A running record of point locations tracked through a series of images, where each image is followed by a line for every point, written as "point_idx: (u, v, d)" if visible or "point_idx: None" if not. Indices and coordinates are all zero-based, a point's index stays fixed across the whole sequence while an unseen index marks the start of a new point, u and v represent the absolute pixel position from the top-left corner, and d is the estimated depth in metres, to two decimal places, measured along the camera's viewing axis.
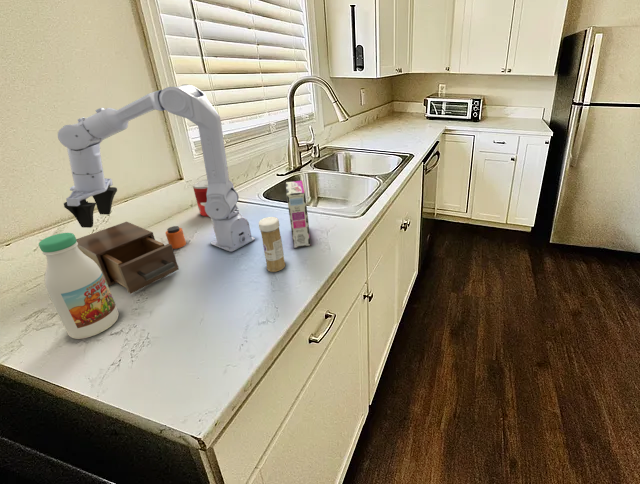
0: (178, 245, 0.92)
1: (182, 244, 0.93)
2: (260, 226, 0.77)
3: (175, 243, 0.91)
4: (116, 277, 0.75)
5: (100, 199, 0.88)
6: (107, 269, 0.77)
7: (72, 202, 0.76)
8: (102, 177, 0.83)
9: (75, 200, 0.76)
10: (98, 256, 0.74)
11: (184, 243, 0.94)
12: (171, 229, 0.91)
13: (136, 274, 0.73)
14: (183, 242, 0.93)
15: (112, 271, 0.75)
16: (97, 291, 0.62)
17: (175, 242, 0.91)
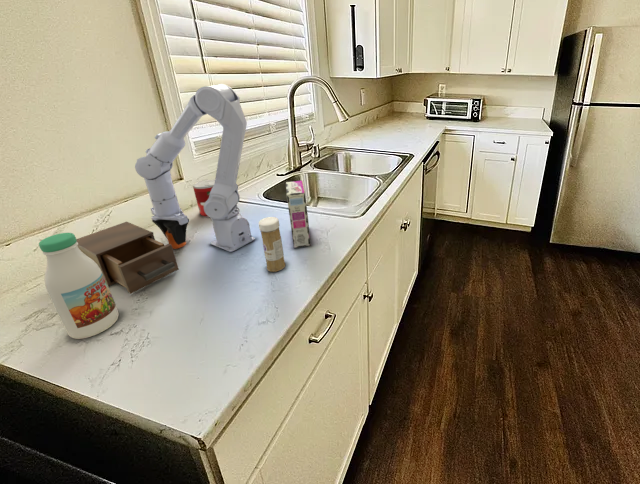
0: (178, 245, 0.92)
1: (183, 245, 0.93)
2: (260, 226, 0.77)
3: (175, 243, 0.91)
4: (116, 277, 0.75)
5: None
6: (107, 269, 0.77)
7: (184, 220, 0.87)
8: None
9: (186, 217, 0.87)
10: (98, 256, 0.74)
11: (184, 243, 0.94)
12: None
13: (136, 274, 0.73)
14: None
15: (112, 271, 0.75)
16: (97, 291, 0.62)
17: (175, 242, 0.91)
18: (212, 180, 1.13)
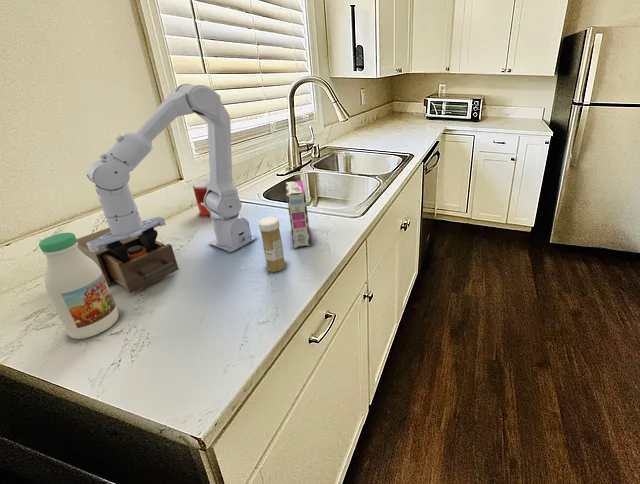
0: None
1: None
2: (260, 226, 0.77)
3: None
4: (116, 277, 0.75)
5: None
6: (107, 269, 0.77)
7: None
8: None
9: None
10: (98, 256, 0.74)
11: None
12: (137, 248, 0.77)
13: (136, 274, 0.73)
14: None
15: (112, 271, 0.75)
16: (97, 291, 0.62)
17: None
18: None
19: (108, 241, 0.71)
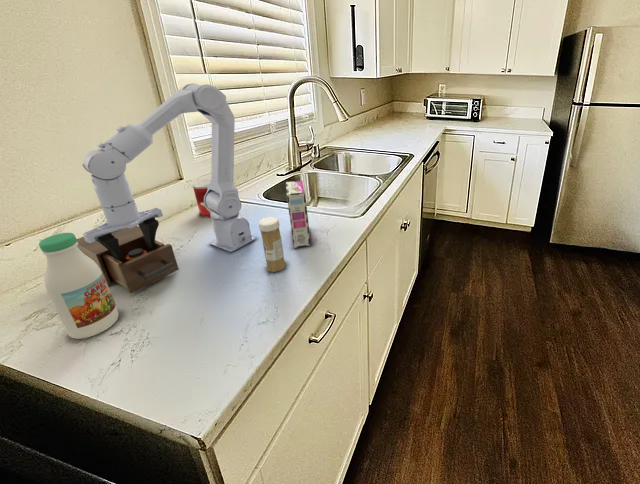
0: None
1: None
2: (260, 226, 0.77)
3: None
4: (116, 277, 0.75)
5: None
6: (107, 269, 0.77)
7: None
8: None
9: None
10: (98, 256, 0.74)
11: None
12: (138, 251, 0.77)
13: (136, 274, 0.73)
14: None
15: (112, 271, 0.75)
16: (97, 291, 0.62)
17: None
18: None
19: (104, 232, 0.70)
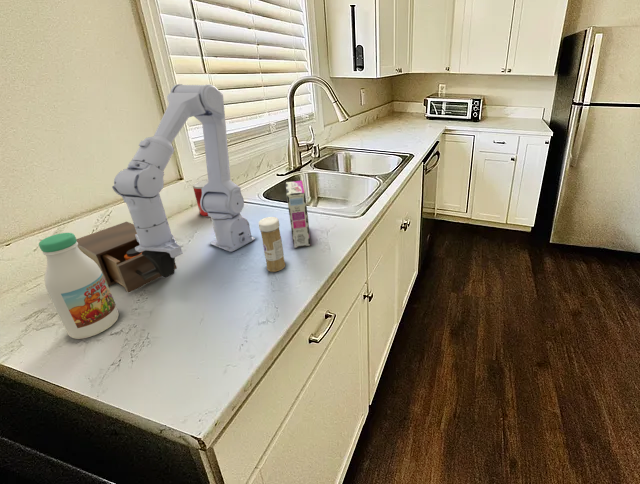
0: None
1: None
2: (260, 226, 0.77)
3: None
4: (114, 276, 0.76)
5: None
6: (105, 268, 0.77)
7: (177, 251, 0.69)
8: None
9: (180, 248, 0.69)
10: (98, 256, 0.74)
11: None
12: None
13: (134, 273, 0.73)
14: None
15: (110, 270, 0.76)
16: (97, 291, 0.62)
17: None
18: None
19: (138, 240, 0.72)
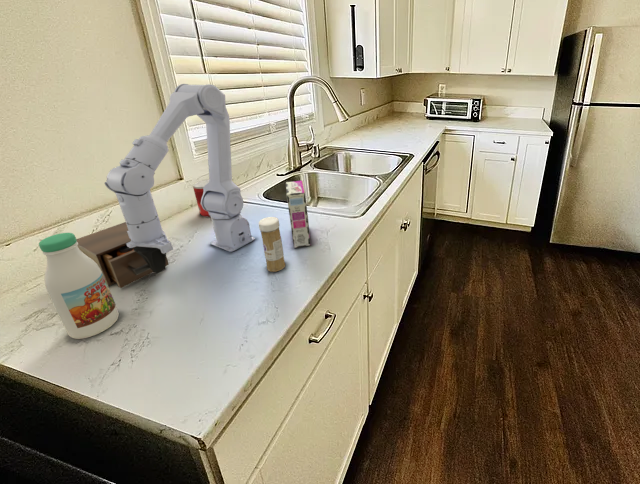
0: None
1: None
2: (260, 226, 0.77)
3: None
4: (107, 272, 0.77)
5: (151, 255, 0.75)
6: None
7: (168, 247, 0.70)
8: None
9: (170, 244, 0.71)
10: (98, 256, 0.74)
11: None
12: (128, 247, 0.79)
13: (126, 269, 0.75)
14: None
15: None
16: (97, 291, 0.62)
17: None
18: None
19: (130, 236, 0.74)
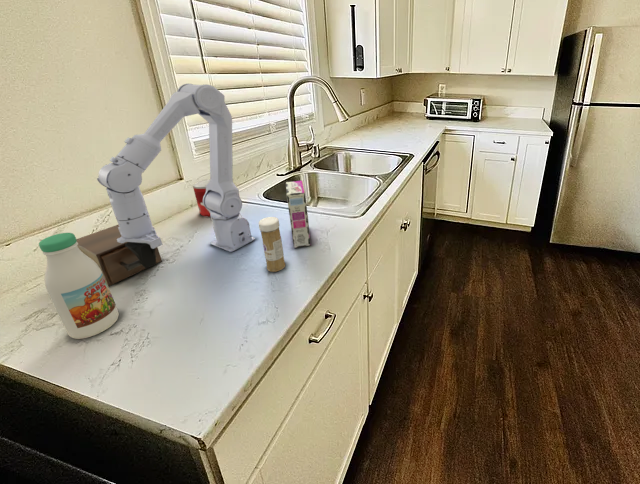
0: None
1: None
2: (260, 226, 0.77)
3: None
4: None
5: (143, 251, 0.76)
6: None
7: (157, 243, 0.72)
8: None
9: (159, 239, 0.73)
10: (98, 256, 0.74)
11: None
12: None
13: (118, 264, 0.77)
14: None
15: None
16: (97, 291, 0.62)
17: None
18: None
19: None
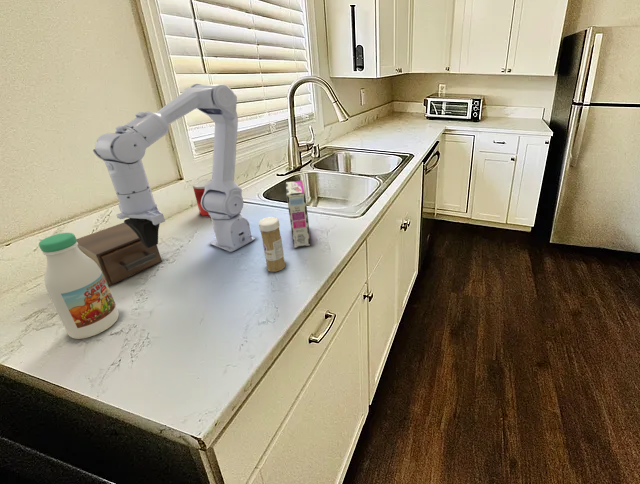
0: None
1: None
2: (260, 226, 0.77)
3: None
4: None
5: None
6: None
7: (159, 219, 0.68)
8: None
9: (162, 215, 0.68)
10: (98, 256, 0.74)
11: None
12: None
13: (118, 264, 0.77)
14: None
15: None
16: (97, 291, 0.62)
17: None
18: None
19: (121, 209, 0.71)
